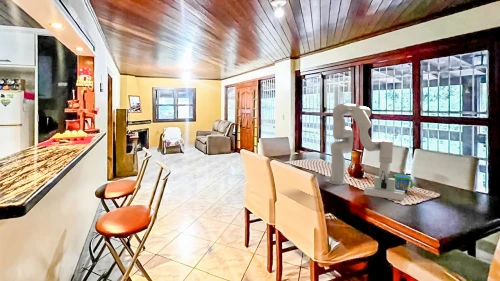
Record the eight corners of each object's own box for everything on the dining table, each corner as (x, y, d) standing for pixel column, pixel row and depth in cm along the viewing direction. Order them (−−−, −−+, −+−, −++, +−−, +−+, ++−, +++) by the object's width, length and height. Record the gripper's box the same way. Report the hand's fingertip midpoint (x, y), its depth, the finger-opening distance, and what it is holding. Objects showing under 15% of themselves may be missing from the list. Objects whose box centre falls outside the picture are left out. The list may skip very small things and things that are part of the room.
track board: (363, 194, 197) (363, 188, 197) (367, 190, 205) (367, 185, 205) (402, 200, 184) (402, 194, 183) (404, 196, 192) (405, 190, 191)
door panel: (373, 190, 196) (374, 177, 195) (375, 189, 199) (375, 176, 198) (393, 193, 189) (394, 179, 188) (394, 192, 192) (395, 178, 191)
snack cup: (416, 192, 201) (417, 177, 200) (404, 193, 198) (405, 178, 197) (399, 186, 216) (399, 172, 215) (387, 187, 213) (387, 173, 212)
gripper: (382, 157, 201) (380, 184, 203) (376, 161, 187) (375, 189, 189) (394, 158, 196) (393, 186, 198) (389, 162, 183) (387, 191, 185)
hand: (384, 187), depth 194 cm, fingers closed on door panel, 3 cm apart
